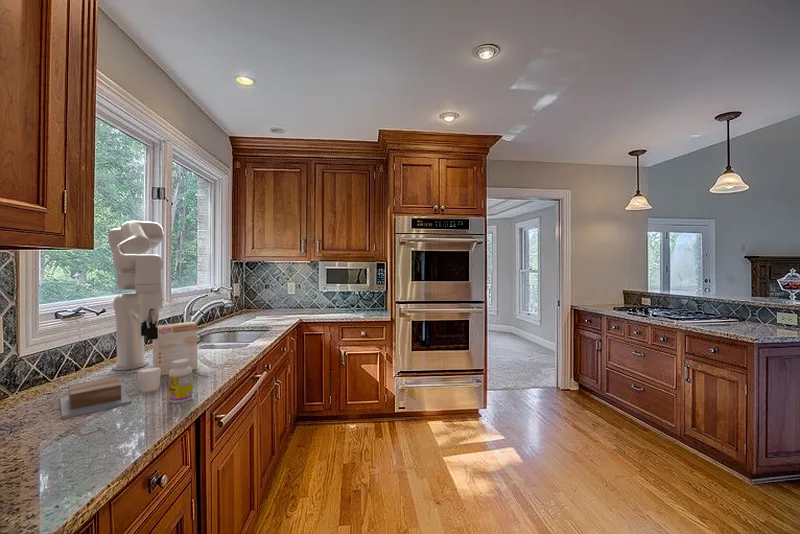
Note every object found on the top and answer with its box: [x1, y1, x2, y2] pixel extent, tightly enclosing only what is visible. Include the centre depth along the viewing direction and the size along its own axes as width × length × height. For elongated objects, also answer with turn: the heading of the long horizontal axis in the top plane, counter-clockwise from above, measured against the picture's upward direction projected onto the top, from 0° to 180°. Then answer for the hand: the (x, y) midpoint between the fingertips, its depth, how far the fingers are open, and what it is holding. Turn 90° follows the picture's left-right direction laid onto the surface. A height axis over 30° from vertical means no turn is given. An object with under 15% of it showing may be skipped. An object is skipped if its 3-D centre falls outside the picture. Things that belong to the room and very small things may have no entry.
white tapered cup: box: [137, 366, 161, 393], centre depth 128 cm, size 7×7×7 cm
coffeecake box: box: [152, 321, 199, 377], centre depth 149 cm, size 15×7×20 cm, turn 133°
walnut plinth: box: [68, 376, 122, 410], centre depth 116 cm, size 12×12×5 cm
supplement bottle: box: [168, 359, 194, 404], centre depth 117 cm, size 7×7×13 cm
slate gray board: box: [59, 385, 132, 420], centre depth 116 cm, size 20×16×1 cm
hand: (149, 337), depth 127 cm, fingers open, 9 cm apart
